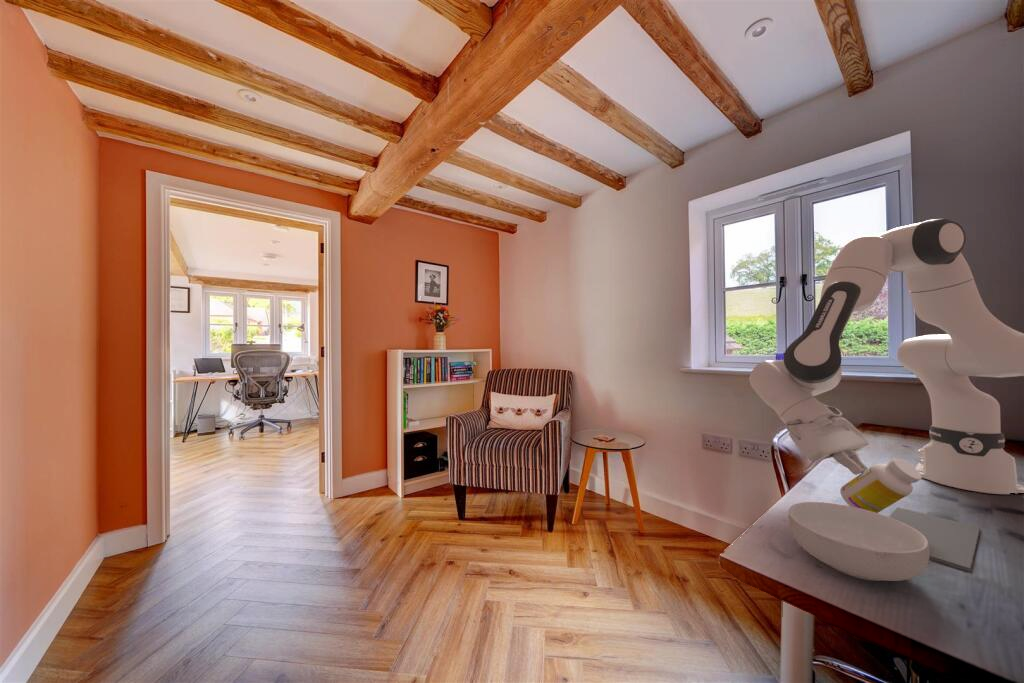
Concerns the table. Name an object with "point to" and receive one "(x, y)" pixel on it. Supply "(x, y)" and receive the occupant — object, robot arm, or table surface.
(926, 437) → the table surface
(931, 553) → the mat
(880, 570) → the cereal bowl
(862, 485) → the supplement bottle
